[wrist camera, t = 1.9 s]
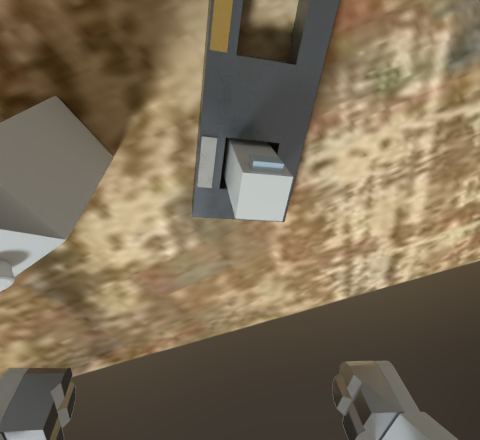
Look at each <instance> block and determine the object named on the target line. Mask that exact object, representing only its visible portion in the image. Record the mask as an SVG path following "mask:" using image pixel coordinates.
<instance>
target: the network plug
mask: <svg viewBox="0 0 480 440" xmlns="http://www.w3.org/2000/svg"><path fill="white" fill-rule="evenodd" d="M223 174H224V178H225V182H226V185H227V189H228V193H229V197H230V200H231V204H232V208H233V212H234V216H235V219H249V220H267V221H283V217H284V213H285V209H286V205H287V201H288V196H289V192H290V188H291V184H292V180H293V176H292V174H291V173H290V172H289V170H288V169H287V168H286V166H285V165H284V163H283V162H282V161H281V159H280V158H279V157H278V156H277V154H276V153H275V151H274V150H273V149H272V147H271V146H270V145H269V143H268V142H264V141H255V140H245V139H236V138H227V145H226V153H225V161H224V169H223Z"/></svg>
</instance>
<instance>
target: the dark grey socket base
mask: <svg viewBox="0 0 480 440" xmlns="http://www.w3.org/2000/svg"><path fill="white" fill-rule="evenodd" d="M338 4H339V0H299V2H298V7H297V12H296V18H295V23H294V28H293V33H292V38H291V43H290V48H289V53H288V58H287V62H283V61H277V60H271V59H265V58H258V57H252V56H246V55H240V54H237V46H238V38H239V30H240V22H241V14H242V6H243V0H209V8H208V20H207V32H206V44H205V56H204V68H203V80H202V92H201V104H200V116H199V128H198V140H197V152H196V164H195V176H194V188H193V200H192V212H193V217H204V218H222V219H235V216H234V212H233V208H232V204H231V200H230V197H229V193H228V189H227V185H226V182H225V178H222V177H221V172H222V164H223V156H224V149H225V141H226V137H227V138H236V139H245V140H255V141H264V142H271V144H270V146H271V147H272V149H273V150H274V151H275V153H276V154H277V156H278V157H279V158H280V159H281V161H282V162H283V163H284V165H285V166H286V168H287V169H288V170H289V172H290V173H291V174H292V176H293V180H292V184H291V188H290V192H289V196H288V201H287V205H286V209H285V213H284V217H283V221H276V222H284V221H285V217H286V213H287V209H288V205H289V201H290V197H291V193H292V189H293V185H294V181H295V177H296V173H297V169H298V165H299V161H300V157H301V153H302V149H303V145H304V141H305V137H306V133H307V129H308V125H309V121H310V117H311V113H312V109H313V105H314V101H315V97H316V93H317V89H318V85H319V81H320V77H321V73H322V69H323V65H324V61H325V57H326V53H327V49H328V45H329V41H330V37H331V32H332V28H333V24H334V20H335V16H336V12H337V8H338ZM240 220H249V219H240ZM258 221H267V220H258Z"/></svg>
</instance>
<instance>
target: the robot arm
mask: <svg viewBox="0 0 480 440" xmlns="http://www.w3.org/2000/svg"><path fill="white" fill-rule="evenodd" d="M339 370H340V372H341V373H340V374H339V375H338V376H336V377H335V378H334V381H333V384H332V393H333V398H334V402H335V405H336V408H337V409H338V410H339V411H340V412H341V413H342V414H343V415H344V418H343V422H342V424H343V426H344V429H345V432H346V435H347V437H348V440H458V439H457V438H455V437H454V436H453V435H452V434H451V433H449V432H448V431H447V430H446V429H444V428H443V427H442V426H441V425H440V424H438V423H437V422H436V421H435V420H434V419H432V418H431V417H430V416H429V415H428V414H426V413H425V412H420V411H419V409H418V408H417V406H416V404H415V402H414V401H413V399H412V397H411V396H410V394H409V392H408V390H407V389H406V387H405V385H404V384H403V382H402V380H401V379H400V377H399V375H398V374H397V372H396V370H395V368H394V367H393V365H392V364H391V363H390V362H389V361H354V362H344V363H342V364H341V366H340V368H339ZM72 375H73V374H72V371H71V368H9V369H8V370H7V371H6V372H5V373H4V374H3V375H2V377H1V379H0V440H64V436H63V431H62V428H63V427H64V426H65V425H66V424H67V423H68V422H69V421H70V418H71V415H72V412H73V408H74V402H75V396H76V393H75V392H76V389H75V385H74V384H73V383H72V382H70V381H71V378H72Z"/></svg>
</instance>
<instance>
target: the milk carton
mask: <svg viewBox="0 0 480 440" xmlns="http://www.w3.org/2000/svg"><path fill="white" fill-rule="evenodd" d="M112 160H113V156H112V155H111V154H110V153H109V152H108V151H107V149H106V148H105V147H104V146H103V145H102V144H101V143H100V142H99V141H98V140H97V139H96V138H95V137H94V136H93V134H92V133H91V132H90V131H89V130H88V129H87V128H86V127H85V126H84V125H83V124H82V123H81V122H80V121H79V119H78V118H77V117H76V116H75V115H74V114H73V113H72V112H71V111H70V110H69V109H68V108H67V107H66V106H65V104H64V103H63V102H62V101H61V100H60V99H59V98H58V97H57V96H53V97H51V98H49V99H47V100H45V101H43V102H41V103H39V104H37V105H35V106H33V107H31V108H29V109H27V110H25V111H23V112H21V113H19V114H17V115H15V116H13V117H11V118H9V119H6V120H4V121H2V122H0V291H2V290H4V289H6V288H8V287H9V286H11V285H12V284H13V283H14V281H15V278H14V277H15V276H16V275H18V274H19V273H21V272H22V271H23V270H25V269H26V268H28V267H29V266H31V265H32V264H33V263H35V262H36V261H38V260H39V259H41V258H42V257H44V256H45V255H46V254H48V253H49V252H51V251H52V250H54V249H55V248H56V247H58V246H59V245H60V244H62V243H63V242H64V241H66V239H67V238H68V236H69V235H70V233H71V231H72V230H73V228H74V226H75V224H76V223H77V221H78V219H79V217H80V216H81V214H82V212H83V210H84V209H85V207H86V205H87V203H88V202H89V200H90V198H91V196H92V195H93V193H94V191H95V189H96V188H97V186H98V184H99V182H100V181H101V179H102V177H103V175H104V174H105V172H106V170H107V168H108V167H109V165H110V163H111V161H112Z"/></svg>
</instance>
